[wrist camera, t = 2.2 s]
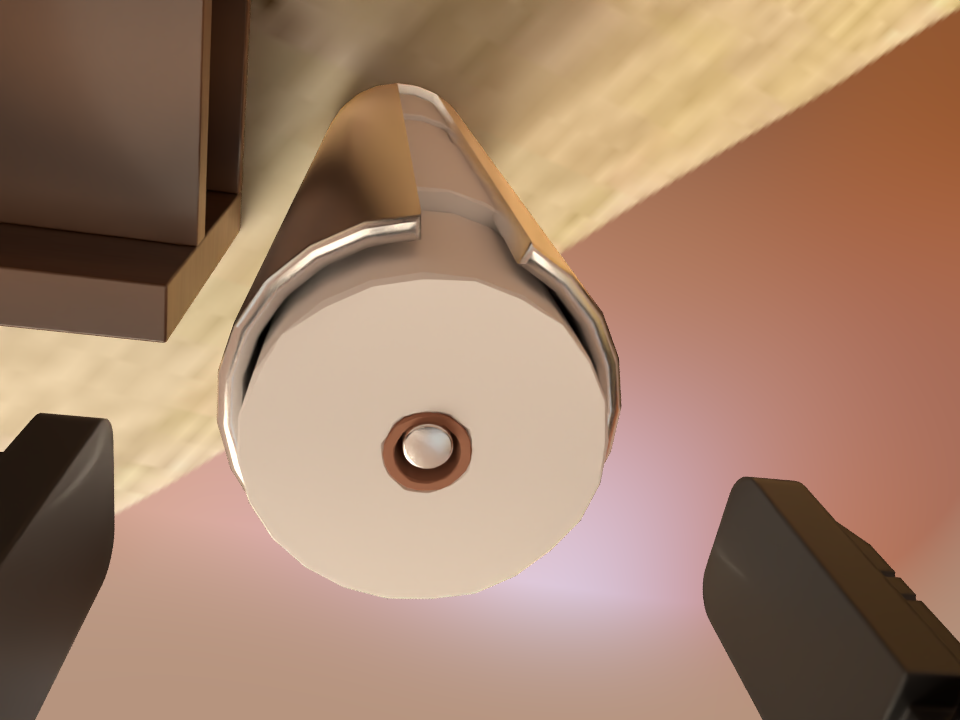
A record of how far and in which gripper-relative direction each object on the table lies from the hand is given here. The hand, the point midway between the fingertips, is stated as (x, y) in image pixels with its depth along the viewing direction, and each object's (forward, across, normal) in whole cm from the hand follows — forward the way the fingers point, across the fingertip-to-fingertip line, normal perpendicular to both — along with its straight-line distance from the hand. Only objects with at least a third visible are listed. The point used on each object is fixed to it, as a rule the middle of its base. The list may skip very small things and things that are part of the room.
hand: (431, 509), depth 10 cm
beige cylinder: (+27, 0, 0) cm, 27 cm away
